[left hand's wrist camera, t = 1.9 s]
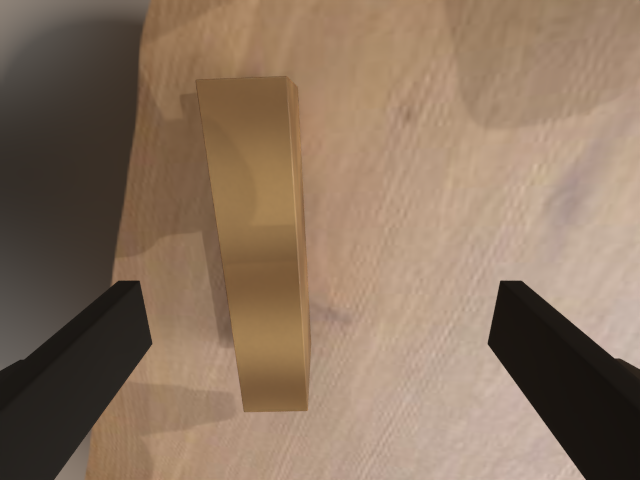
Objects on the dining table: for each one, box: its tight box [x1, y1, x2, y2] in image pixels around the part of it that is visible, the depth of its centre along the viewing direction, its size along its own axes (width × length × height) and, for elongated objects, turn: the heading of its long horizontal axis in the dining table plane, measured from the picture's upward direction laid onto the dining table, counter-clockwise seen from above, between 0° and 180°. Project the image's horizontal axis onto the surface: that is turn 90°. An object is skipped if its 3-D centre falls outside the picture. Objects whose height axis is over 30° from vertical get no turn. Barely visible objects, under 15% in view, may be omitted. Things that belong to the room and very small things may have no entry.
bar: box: [196, 76, 311, 412], centre depth 27 cm, size 24×5×8 cm, turn 2°
